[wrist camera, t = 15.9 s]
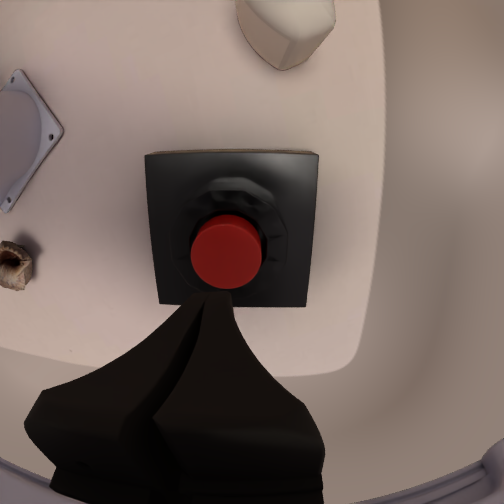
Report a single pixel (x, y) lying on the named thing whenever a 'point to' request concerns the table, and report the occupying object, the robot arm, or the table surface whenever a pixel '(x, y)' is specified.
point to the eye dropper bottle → (285, 28)
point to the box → (240, 204)
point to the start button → (226, 252)
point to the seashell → (14, 266)
